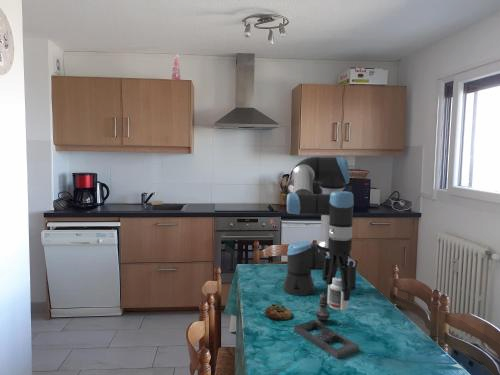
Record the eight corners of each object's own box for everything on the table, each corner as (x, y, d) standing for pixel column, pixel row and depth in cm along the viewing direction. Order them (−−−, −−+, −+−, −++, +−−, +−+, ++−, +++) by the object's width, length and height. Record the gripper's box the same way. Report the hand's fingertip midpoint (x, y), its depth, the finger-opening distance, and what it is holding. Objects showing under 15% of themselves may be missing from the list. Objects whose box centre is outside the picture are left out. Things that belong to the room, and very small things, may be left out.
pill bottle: (344, 311, 123) (345, 282, 122) (327, 308, 125) (328, 279, 124) (346, 305, 128) (347, 277, 127) (330, 302, 130) (331, 275, 129)
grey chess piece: (321, 326, 144) (322, 295, 143) (311, 319, 149) (312, 290, 148) (333, 323, 147) (334, 293, 146) (323, 317, 152) (324, 288, 151)
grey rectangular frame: (293, 331, 139) (294, 326, 139) (314, 325, 144) (314, 320, 144) (336, 359, 120) (337, 353, 120) (358, 351, 126) (359, 345, 126)
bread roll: (260, 318, 150) (261, 305, 150) (268, 311, 160) (270, 299, 160) (287, 324, 146) (289, 311, 146) (294, 316, 156) (295, 304, 156)
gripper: (312, 233, 130) (310, 299, 132) (353, 245, 115) (350, 318, 117) (328, 232, 134) (326, 295, 136) (370, 242, 119) (366, 313, 121)
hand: (337, 306), depth 127 cm, fingers closed on pill bottle, 5 cm apart
